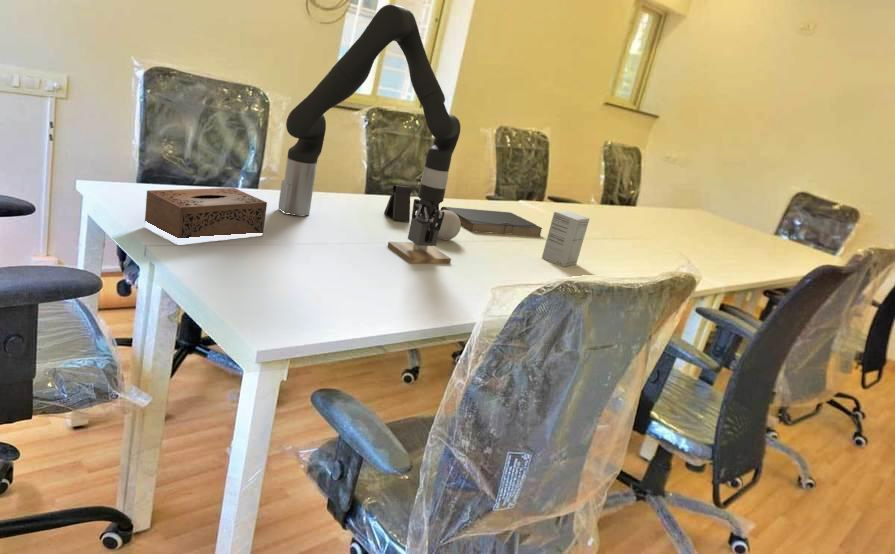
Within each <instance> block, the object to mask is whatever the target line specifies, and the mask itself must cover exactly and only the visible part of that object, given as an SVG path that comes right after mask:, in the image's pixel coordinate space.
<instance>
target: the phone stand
mask: <svg viewBox="0 0 895 554" xmlns="http://www.w3.org/2000/svg"><path fill="white" fill-rule="evenodd" d="M411 194H412V187H411V186H410V185H402V184H401V185H400V184H394V185H393V187H392V189H391V194H390V196H389V199H388V201H387V204H386V207H385V210H384V212H383V214H384V215H385V217H387V218H388V219H390V220H391V221H393V222H397V223H411V219H410V216H411Z"/></svg>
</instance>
